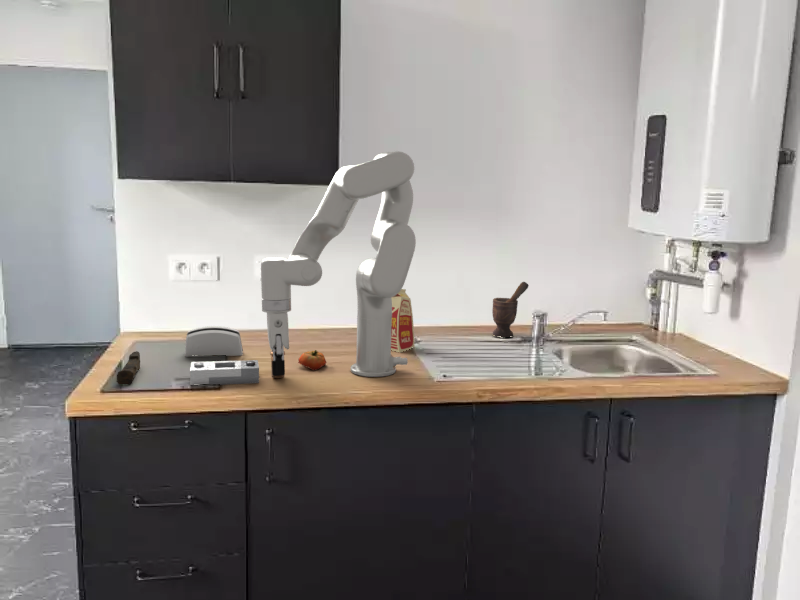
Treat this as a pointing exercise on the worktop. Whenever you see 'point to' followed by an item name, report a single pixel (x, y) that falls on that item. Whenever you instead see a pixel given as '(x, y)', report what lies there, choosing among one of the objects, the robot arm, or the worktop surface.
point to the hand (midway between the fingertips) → (278, 372)
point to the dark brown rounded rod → (129, 369)
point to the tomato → (312, 360)
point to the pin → (271, 365)
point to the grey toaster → (213, 341)
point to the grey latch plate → (224, 372)
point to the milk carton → (402, 323)
